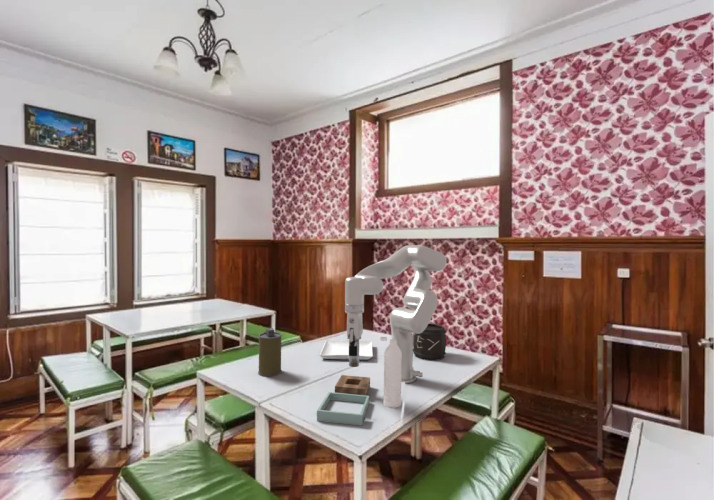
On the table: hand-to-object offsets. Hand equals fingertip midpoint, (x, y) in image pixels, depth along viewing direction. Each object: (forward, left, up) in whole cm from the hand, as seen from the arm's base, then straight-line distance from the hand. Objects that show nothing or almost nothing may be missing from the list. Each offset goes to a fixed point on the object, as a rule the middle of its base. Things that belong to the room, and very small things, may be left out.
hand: (354, 353), depth 147 cm
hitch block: (0, 0, -16) cm, 16 cm away
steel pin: (0, 0, -5) cm, 5 cm away
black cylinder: (-30, -57, -17) cm, 66 cm away
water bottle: (-15, +7, -17) cm, 23 cm away
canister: (+42, -15, -17) cm, 48 cm away
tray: (0, +16, -16) cm, 23 cm away
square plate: (+13, -51, -17) cm, 55 cm away
